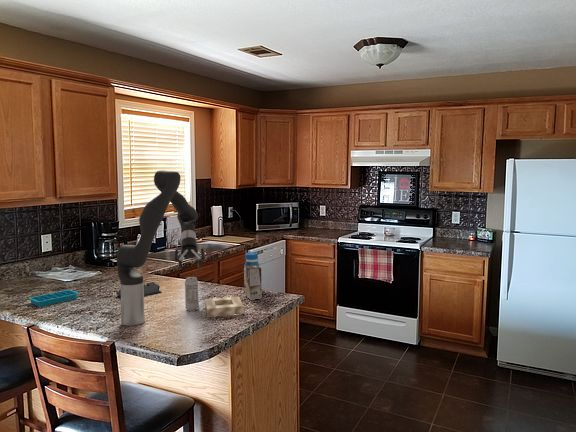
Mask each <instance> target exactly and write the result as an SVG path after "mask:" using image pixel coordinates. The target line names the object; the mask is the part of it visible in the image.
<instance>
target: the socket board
mask: <svg viewBox="0 0 576 432" xmlns="http://www.w3.org/2000/svg"><path fill="white" fill-rule="evenodd" d="M244 308H245V306H244V304H243V302H242V300H241V298H240V297H239V296H229V297H228V296H227V297H217V298H215V297H213V298H205V299H204V309H205V314H206V313H207V314H206V317H211V318H215V317H214V316H224V317H226V316H225V315H234V314H243V313H244V312H245V309H244ZM244 314H245V313H244Z"/></svg>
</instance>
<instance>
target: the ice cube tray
mask: <svg viewBox="0 0 576 432" xmlns="http://www.w3.org/2000/svg"><path fill="white" fill-rule="evenodd" d="M79 294H80V293H79V292H77V291H74V290H72V289H65V290H61V291H56V292H52V293H51V292H50V293H46V294H41V295H36V296H32V297H28V300H30V303H31V304H32V305H34V304H35V305H34V306H36V305H37V307H39V306H41V307H45V305H46V306H51V305H54V303H55V304H59V303H63V302H68V301H72V300H76V299H77V298H78V295H79Z"/></svg>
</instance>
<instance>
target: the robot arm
mask: <svg viewBox="0 0 576 432" xmlns="http://www.w3.org/2000/svg"><path fill="white" fill-rule="evenodd" d="M153 182H154V183H153V184H154V186H155V187H156V188H157V190H158V191H159V192H160V193H159V194H158V195H156V196H155V197H154V198H152V199H151V200H150V201H149V202H147V203H146V204H145V206H144V208H143V209H142V211H141V214H140V216H139V218H138V219H139V220H138V223H139V228H140V233H141V234H140V237H139V240H138V241H137V244H135V245H134V244H123V245H120V246H119V248H118V249H117V253H116V265H117V274H118V275H117V276H118V279H119V283H120V284H119V285H120V291H121V297H120V303H119V305H120V322H121V323H120V325H121V326H128V327H129V326H130V327H131V326H138V325H141V324H144V323H145V320H146V318H145V317H146V316H145V315H146V314H145V297H144V285H145V283H144V276H143V274H141V273H140V272H138V271H137V270H136V269H135V268H141V267H143V266H144V264H145V263H146V262H147V259H148V257H149V254H150V251H151V250H150V249H151V247H152V244H153V242H154V239H155V236H156V234H157V231H158V229H159V227H160V225H161V223H162V221H163V219H164V217H165V214H166V212H167V210H168V208H169V205H170V204H171V205H172V207H173V208H174V209H175V211H176V213H177V214H176V215H177V216H176V218H177V220H178V221H177V222H179V225H180V231H181V235H180V242H181V244H180V245H181V249H180V250H178V249H175V250H174V262H175V263H178V268H179V269H180V270H182V269H183V263H182V262H183V261H185V259H193V258H194V259H195V261H197V267H198V269H200V268H201V267H202V262H204V261H205V258H206V257H205V252H204V248H200V249H198V248H197V247H198V246H197V245H198V244H197V235H196V226H195V223H193V222H196V221H197V220H198V218H199V213H198V212H197V210H196V209H195V208H194V207H193V206H191V204H189V202H188V200H187V199H186V197H185V196H184V195H183V194H182V193H180V192H179V191H178V189H179V187H180V183H181V175H180V173H179V171H174V170H169V169H168V170H164V169H160V170H157V171H156V172H155V173H154V176H153ZM198 253H199V254H198ZM180 254H181V256H180ZM178 256H180V257H179V258H178Z"/></svg>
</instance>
